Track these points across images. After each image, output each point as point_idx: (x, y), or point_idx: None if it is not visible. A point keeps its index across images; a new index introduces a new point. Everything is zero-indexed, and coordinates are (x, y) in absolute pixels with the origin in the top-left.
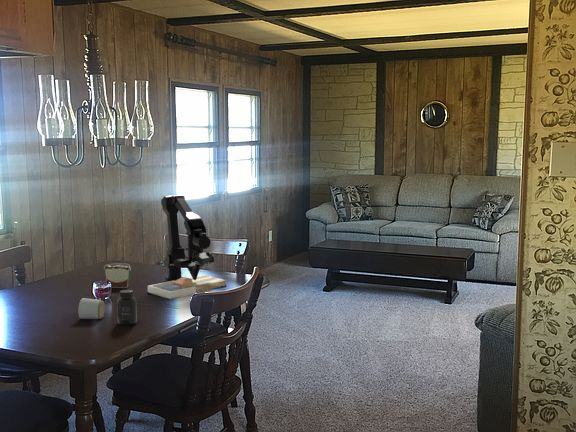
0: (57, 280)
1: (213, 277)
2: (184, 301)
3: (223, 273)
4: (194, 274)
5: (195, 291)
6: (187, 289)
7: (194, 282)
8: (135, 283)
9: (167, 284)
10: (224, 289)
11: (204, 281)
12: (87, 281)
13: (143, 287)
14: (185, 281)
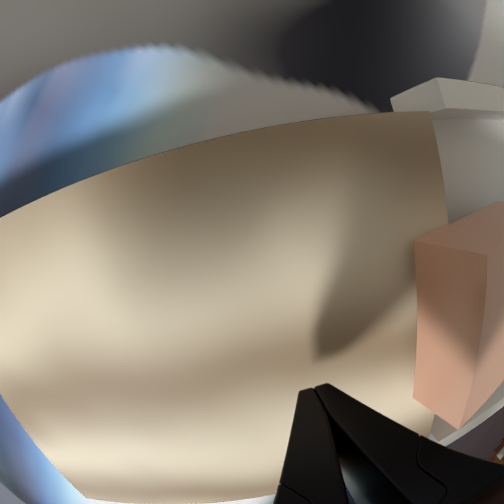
0: None
1: (29, 430)
2: (490, 8)
3: (8, 484)
4: (388, 430)
5: (405, 93)
6: (501, 90)
7: (311, 369)
8: None
9: None
10: (37, 96)
11: (153, 355)
12: None
13: (487, 432)
14: None
